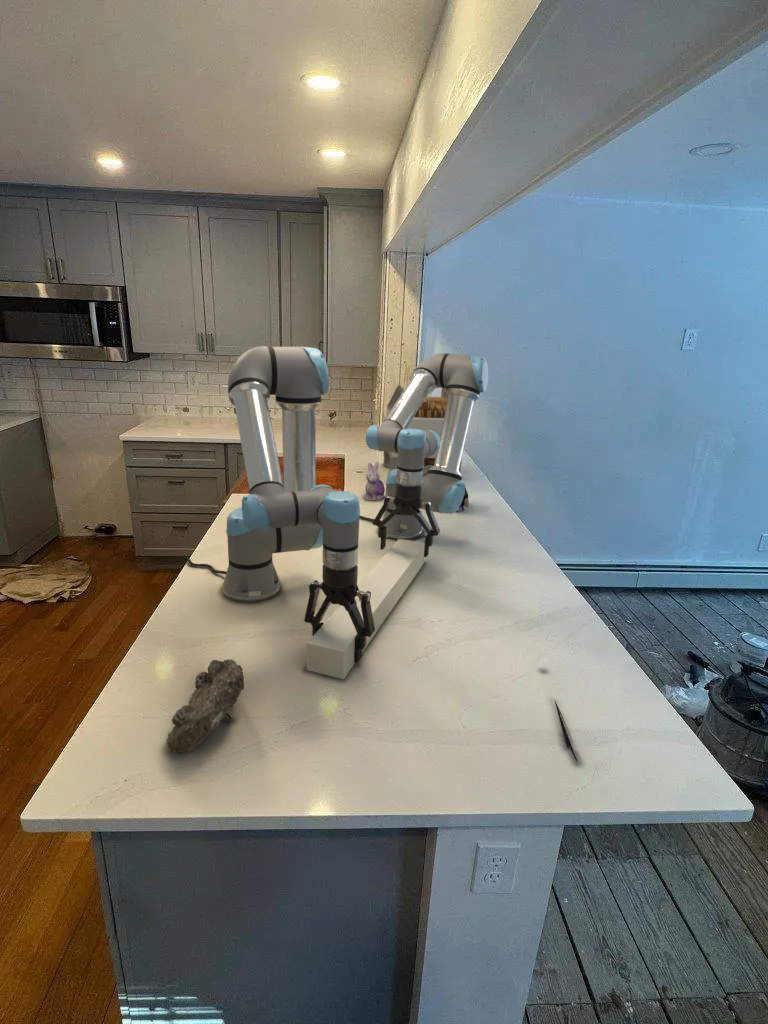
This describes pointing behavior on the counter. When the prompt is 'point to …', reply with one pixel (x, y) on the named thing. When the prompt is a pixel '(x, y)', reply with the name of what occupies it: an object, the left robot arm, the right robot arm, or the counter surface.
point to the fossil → (206, 705)
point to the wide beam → (337, 634)
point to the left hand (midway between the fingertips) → (338, 654)
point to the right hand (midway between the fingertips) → (404, 551)
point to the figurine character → (465, 500)
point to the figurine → (374, 483)
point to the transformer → (421, 422)
